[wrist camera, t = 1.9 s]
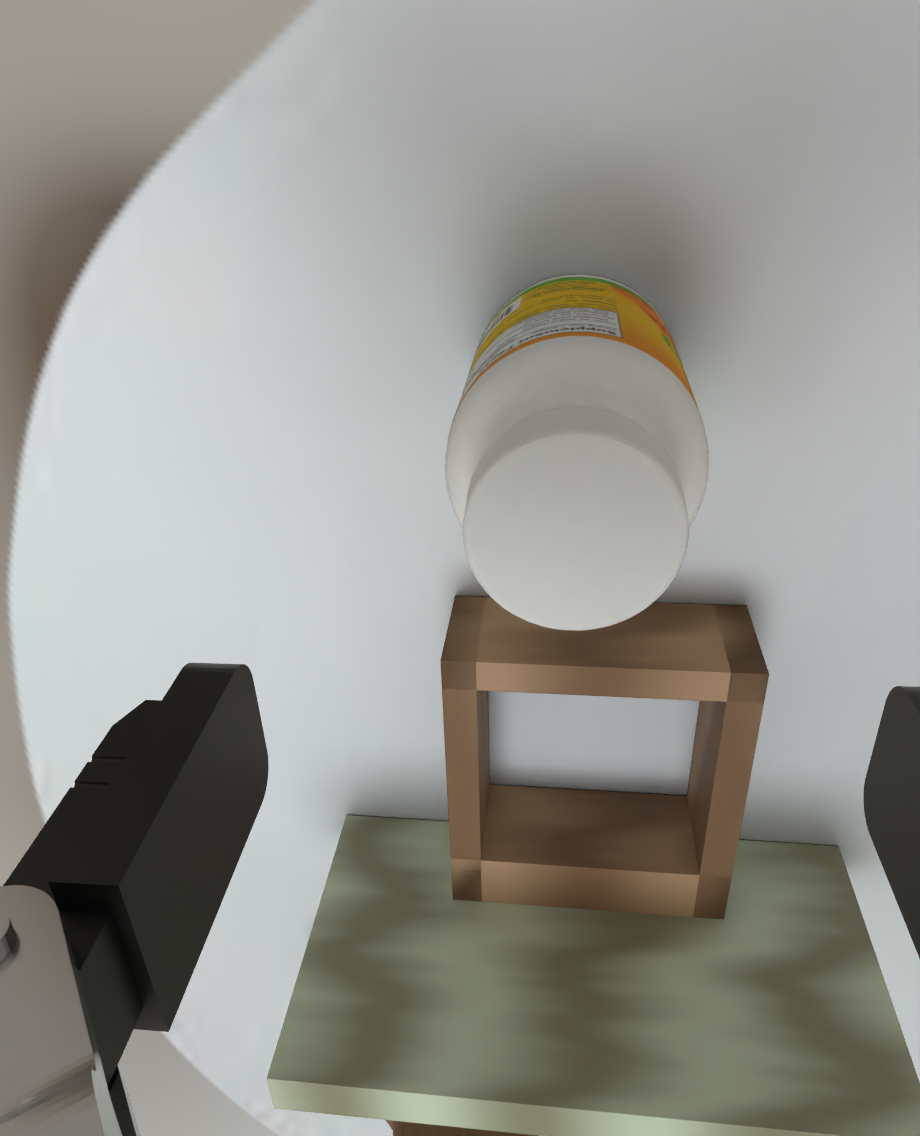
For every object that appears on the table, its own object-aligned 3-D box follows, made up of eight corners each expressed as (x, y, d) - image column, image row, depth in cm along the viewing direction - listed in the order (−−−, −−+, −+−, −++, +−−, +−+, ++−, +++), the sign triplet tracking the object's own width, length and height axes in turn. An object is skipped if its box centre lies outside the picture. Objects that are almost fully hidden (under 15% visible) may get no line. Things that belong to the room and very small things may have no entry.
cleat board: (900, 610, 26) (1063, 878, 17) (830, 875, 32) (927, 1175, 23) (317, 591, 28) (204, 822, 19) (350, 843, 34) (274, 1108, 25)
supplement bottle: (680, 452, 24) (736, 653, 16) (491, 474, 25) (451, 674, 17) (670, 254, 22) (730, 369, 13) (460, 287, 23) (395, 413, 14)
